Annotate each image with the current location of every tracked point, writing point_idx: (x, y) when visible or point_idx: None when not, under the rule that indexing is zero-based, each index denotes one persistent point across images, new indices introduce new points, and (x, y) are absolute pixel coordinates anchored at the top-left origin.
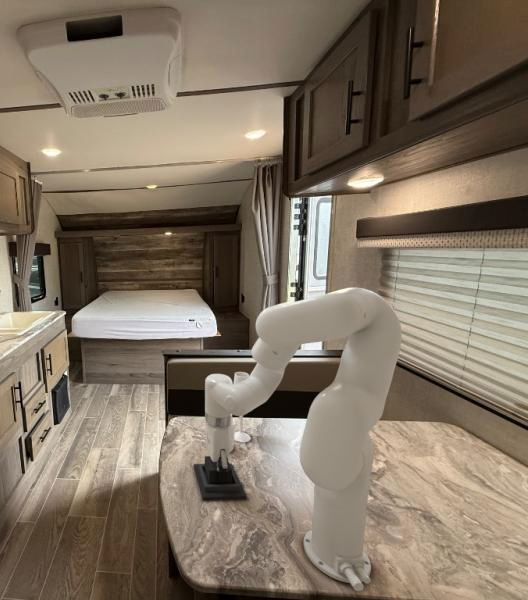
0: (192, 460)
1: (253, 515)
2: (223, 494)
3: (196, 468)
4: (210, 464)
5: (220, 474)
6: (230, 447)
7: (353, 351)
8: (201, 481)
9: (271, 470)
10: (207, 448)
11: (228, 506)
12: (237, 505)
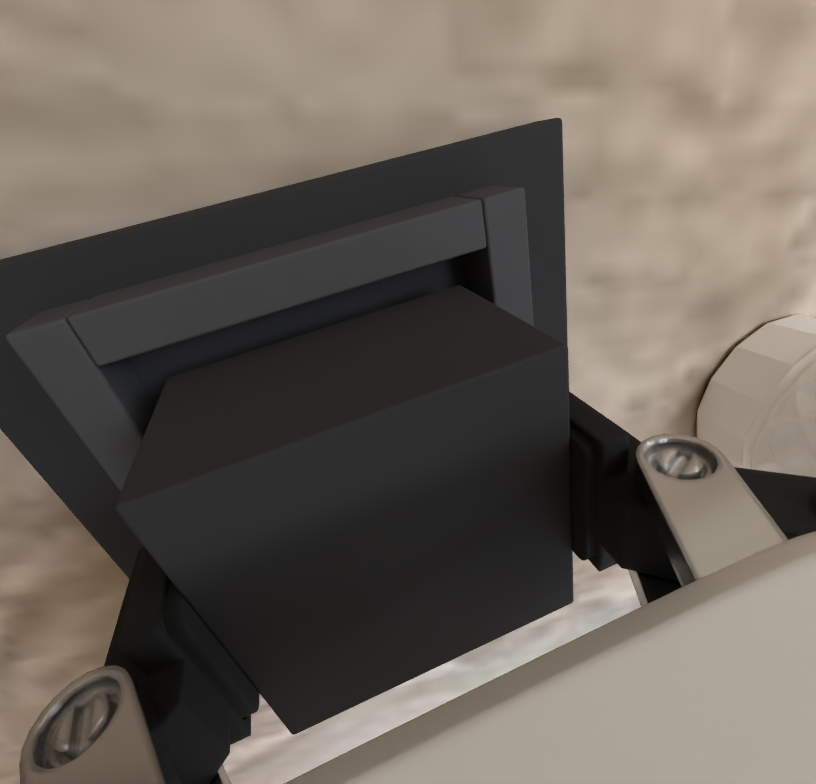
0: (644, 99)
1: (20, 696)
2: (108, 510)
3: (482, 160)
4: (336, 485)
5: (118, 661)
6: (735, 466)
7: None
8: (240, 247)
9: (523, 655)
10: (677, 666)
11: (9, 541)
12: (77, 593)
